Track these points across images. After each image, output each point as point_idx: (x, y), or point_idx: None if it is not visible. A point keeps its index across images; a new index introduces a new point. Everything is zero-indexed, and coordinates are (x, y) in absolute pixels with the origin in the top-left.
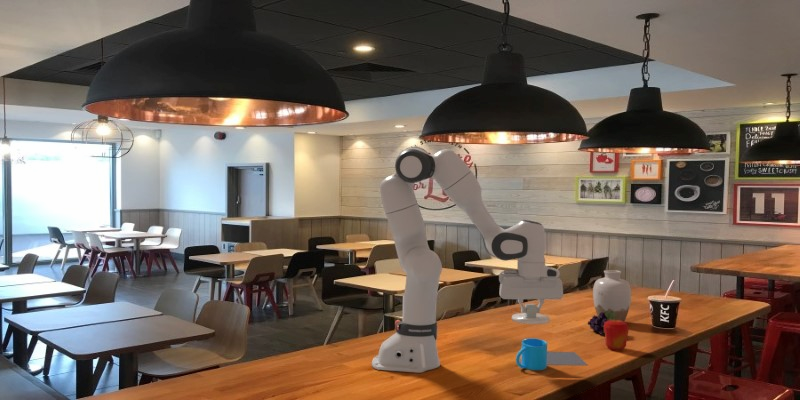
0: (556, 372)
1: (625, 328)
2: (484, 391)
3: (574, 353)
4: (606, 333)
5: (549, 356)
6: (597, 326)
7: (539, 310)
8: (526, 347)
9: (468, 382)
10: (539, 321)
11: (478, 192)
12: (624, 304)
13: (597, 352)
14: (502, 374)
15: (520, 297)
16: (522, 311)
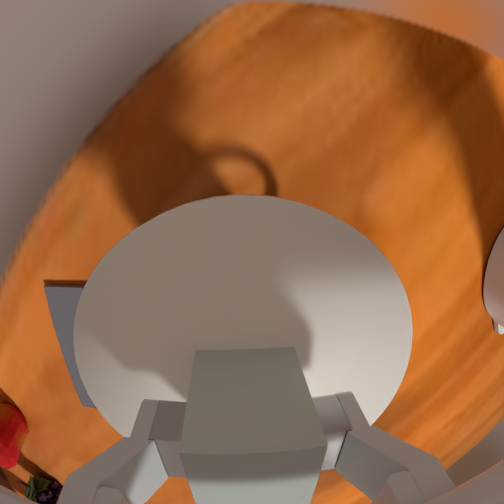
0: (145, 216)
1: None
2: (413, 34)
3: (81, 394)
4: (12, 439)
5: None
6: (58, 495)
7: (147, 414)
8: None
9: (449, 110)
10: (182, 206)
11: None
12: None
13: (39, 402)
14: (352, 180)
15: (477, 497)
16: (351, 397)
